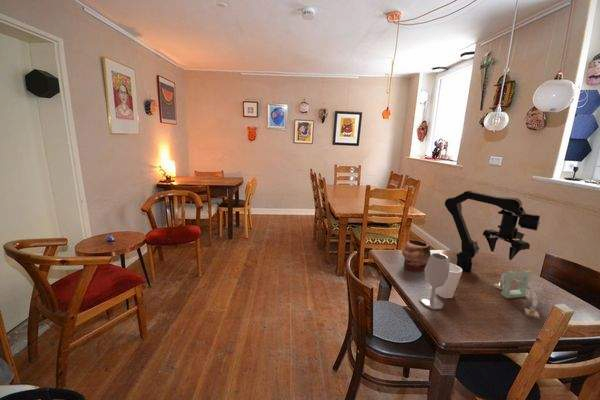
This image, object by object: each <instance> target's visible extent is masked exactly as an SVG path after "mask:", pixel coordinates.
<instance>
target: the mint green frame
mask: <svg viewBox="0 0 600 400" xmlns="http://www.w3.org/2000/svg"><path fill="white" fill-rule="evenodd" d="M506 274H507V276H506V277H505V281H504V288H503V290H502V291H501V290H500V291H501V292H500V295H502V296H503V297H504V298H506V299H513V298H521V297H527V293H526V291H527V288H526V287H524V286H522V285H520V284H519V288H518V289H511V287H512V283H513V280H512V279H513V278H515V279H516V278H521V280H520V281H521V282H523V283H525V284H527V285H529V284H528V283H529V279H530V277H531V271H530V270H527V269H520V270H519V269H518V270H507V272H506Z"/></svg>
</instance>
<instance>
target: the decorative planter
mask: <svg viewBox="0 0 600 400" xmlns="http://www.w3.org/2000/svg"><path fill="white" fill-rule="evenodd" d="M401 254H402V256H403V258H404V260H403V261H404V262H403V267H404V268H406V269H407V270H409V271H412V272H416V273H420V272H424V271H425V268H426V265H427V262H428V259H429V257H430V256H431V254H432V253H431V245H430V244H429V243H426V242H424V241H421V240H416V239H409V240H408V241H407V242H406V245H405V247H403V248H402V250H401Z"/></svg>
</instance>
